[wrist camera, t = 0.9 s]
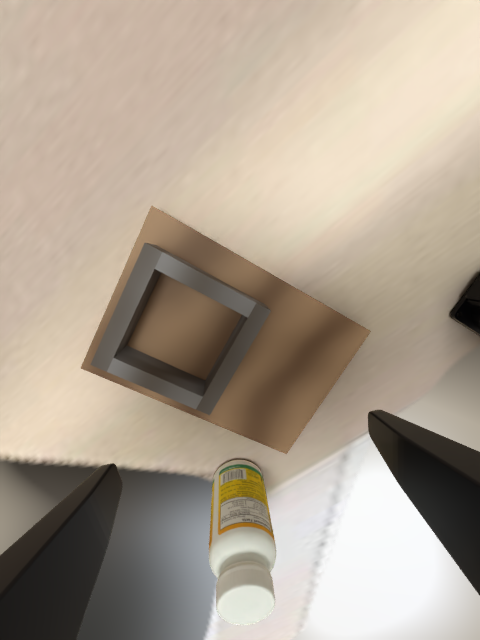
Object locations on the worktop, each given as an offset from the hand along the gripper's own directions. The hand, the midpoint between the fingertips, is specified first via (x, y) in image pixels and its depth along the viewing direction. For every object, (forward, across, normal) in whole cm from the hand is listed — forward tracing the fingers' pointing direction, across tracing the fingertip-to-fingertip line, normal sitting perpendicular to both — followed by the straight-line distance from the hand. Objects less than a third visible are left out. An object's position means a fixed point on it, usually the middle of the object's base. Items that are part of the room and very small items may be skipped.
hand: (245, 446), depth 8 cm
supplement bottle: (+14, +2, +16) cm, 21 cm away
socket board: (+13, 0, +1) cm, 13 cm away
